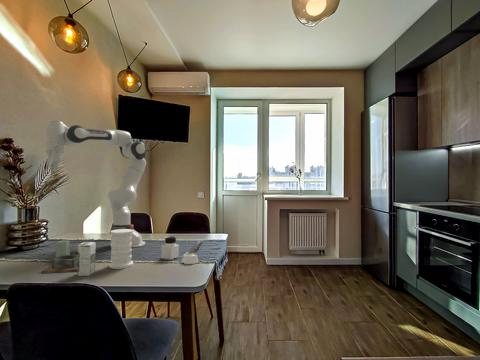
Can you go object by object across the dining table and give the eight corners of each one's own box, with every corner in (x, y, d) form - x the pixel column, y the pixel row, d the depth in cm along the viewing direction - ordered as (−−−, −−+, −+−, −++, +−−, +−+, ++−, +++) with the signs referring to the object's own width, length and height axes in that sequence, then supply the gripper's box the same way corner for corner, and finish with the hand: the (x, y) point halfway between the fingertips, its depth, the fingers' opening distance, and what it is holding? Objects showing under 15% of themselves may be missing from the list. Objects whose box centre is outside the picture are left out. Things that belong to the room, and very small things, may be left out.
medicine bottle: (179, 257, 168) (179, 236, 168) (171, 260, 162) (171, 238, 162) (169, 255, 171) (169, 235, 171) (161, 258, 165) (161, 237, 165)
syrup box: (82, 272, 138) (83, 241, 139) (95, 272, 139) (95, 241, 139) (76, 276, 133) (77, 244, 133) (90, 276, 133) (90, 244, 133)
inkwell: (177, 263, 156) (178, 244, 156) (196, 255, 172) (196, 238, 172) (192, 265, 152) (192, 246, 152) (209, 257, 168) (209, 240, 169)
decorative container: (109, 270, 142) (110, 233, 142) (108, 264, 153) (108, 229, 153) (134, 267, 148) (135, 231, 148) (131, 261, 158) (132, 228, 158)
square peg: (69, 258, 163) (69, 240, 163) (65, 260, 158) (66, 242, 158) (59, 258, 162) (59, 240, 162) (55, 260, 157) (56, 242, 158)
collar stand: (89, 262, 156) (89, 252, 156) (78, 271, 140) (78, 260, 140) (56, 263, 153) (56, 253, 153) (41, 272, 137) (41, 262, 137)
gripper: (63, 145, 161) (63, 170, 159) (58, 153, 176) (58, 175, 175) (50, 144, 157) (49, 169, 155) (46, 151, 172) (45, 174, 171)
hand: (53, 172), depth 165 cm, fingers open, 8 cm apart
